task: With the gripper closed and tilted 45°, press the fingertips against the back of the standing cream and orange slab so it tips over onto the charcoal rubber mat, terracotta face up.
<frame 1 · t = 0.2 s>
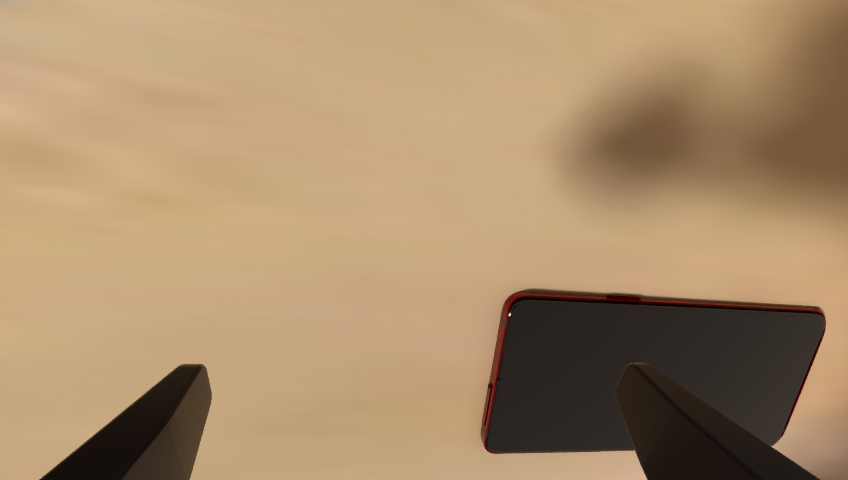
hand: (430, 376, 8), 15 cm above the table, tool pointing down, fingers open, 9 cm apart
smartphone: (647, 370, 30), on the table
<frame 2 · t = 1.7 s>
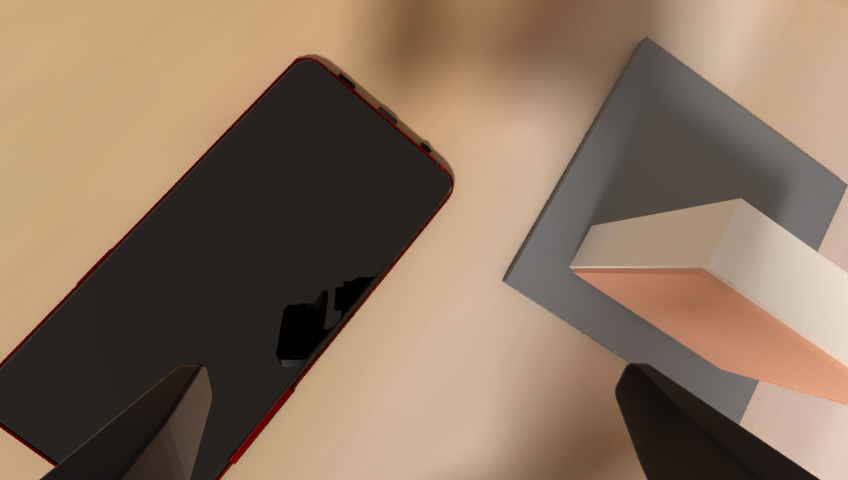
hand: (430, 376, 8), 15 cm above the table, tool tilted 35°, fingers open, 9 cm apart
smartphone: (249, 276, 23), on the table
cream and orange slab: (656, 296, 25), point 1 cm above the table, touching charcoal mat
charcoal mat: (683, 230, 27), on the table
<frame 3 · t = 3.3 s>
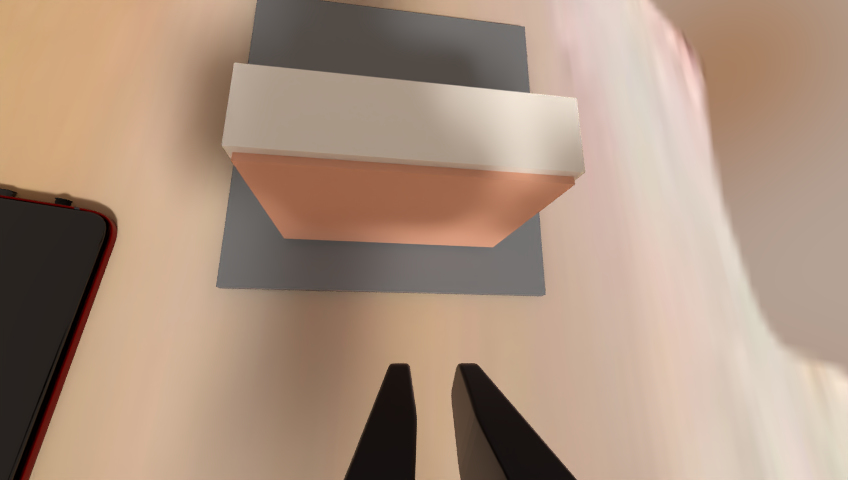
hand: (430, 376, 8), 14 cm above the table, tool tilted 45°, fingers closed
cream and orange slab: (392, 214, 23), point 1 cm above the table, touching charcoal mat
charcoal mat: (393, 140, 25), on the table
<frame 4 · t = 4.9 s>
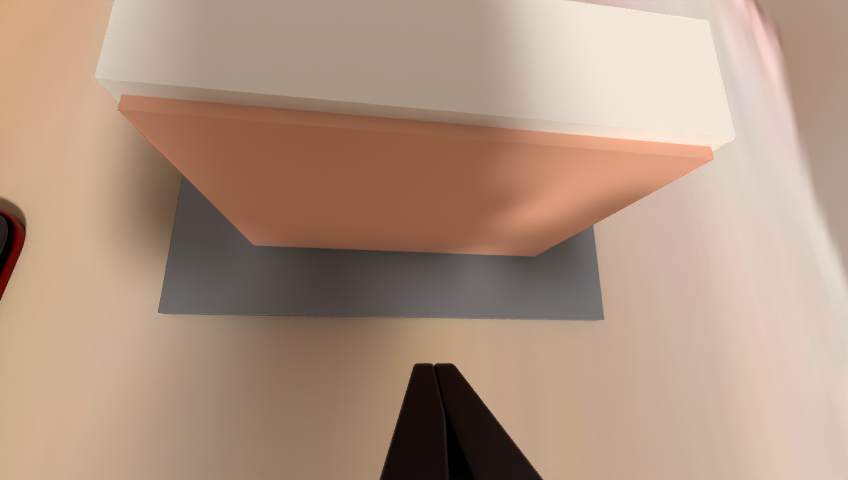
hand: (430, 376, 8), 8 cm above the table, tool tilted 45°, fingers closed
cream and orange slab: (401, 213, 17), point 1 cm above the table, touching charcoal mat
charcoal mat: (401, 118, 19), on the table
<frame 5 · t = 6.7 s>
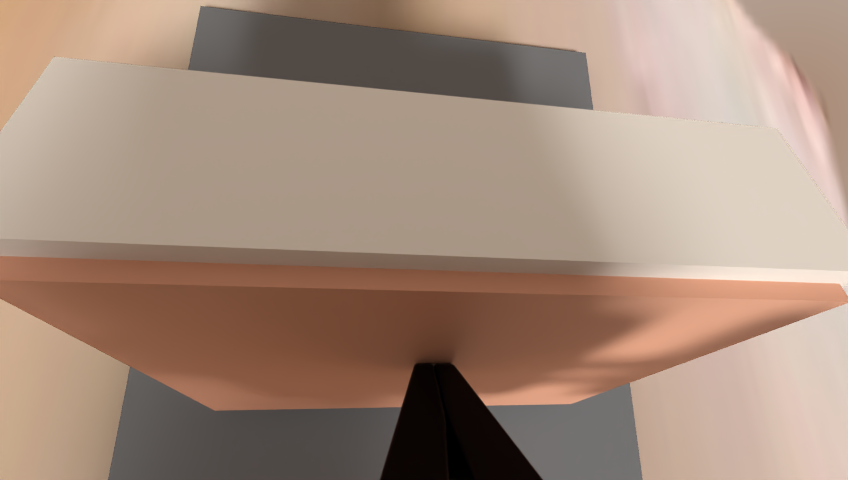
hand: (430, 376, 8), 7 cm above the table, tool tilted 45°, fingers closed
cream and orange slab: (402, 354, 14), point 1 cm above the table, tilted 15°, touching charcoal mat
charcoal mat: (402, 228, 17), on the table
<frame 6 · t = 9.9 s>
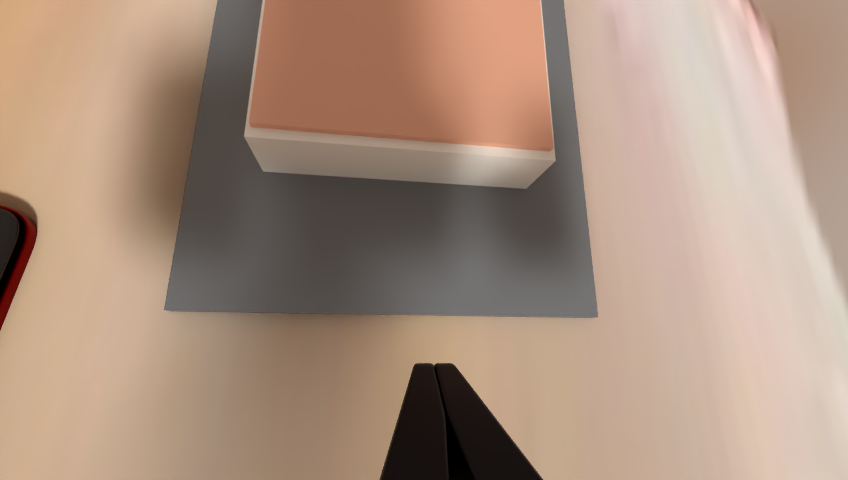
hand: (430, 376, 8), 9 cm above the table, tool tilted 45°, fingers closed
cream and orange slab: (404, 166, 17), point 2 cm above the table, tilted 90°, touching charcoal mat
charcoal mat: (401, 119, 20), on the table
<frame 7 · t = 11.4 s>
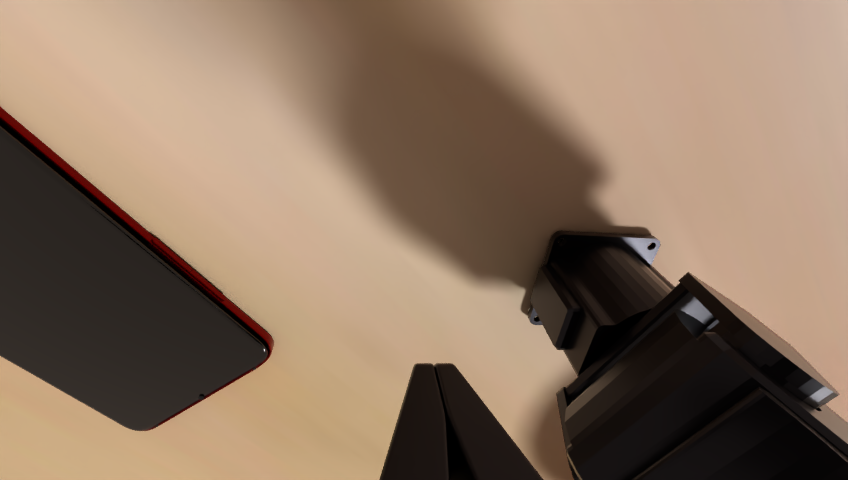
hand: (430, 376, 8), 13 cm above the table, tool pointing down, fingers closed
smartphone: (28, 246, 21), on the table
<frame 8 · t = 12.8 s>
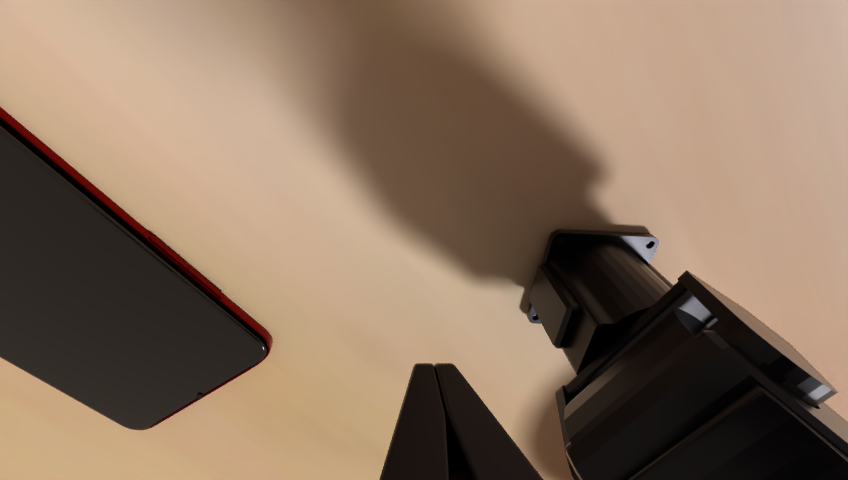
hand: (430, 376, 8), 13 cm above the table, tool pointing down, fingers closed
smartphone: (24, 244, 20), on the table
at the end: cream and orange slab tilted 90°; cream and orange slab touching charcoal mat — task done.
